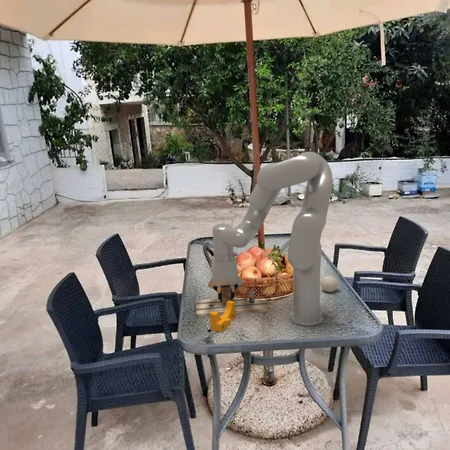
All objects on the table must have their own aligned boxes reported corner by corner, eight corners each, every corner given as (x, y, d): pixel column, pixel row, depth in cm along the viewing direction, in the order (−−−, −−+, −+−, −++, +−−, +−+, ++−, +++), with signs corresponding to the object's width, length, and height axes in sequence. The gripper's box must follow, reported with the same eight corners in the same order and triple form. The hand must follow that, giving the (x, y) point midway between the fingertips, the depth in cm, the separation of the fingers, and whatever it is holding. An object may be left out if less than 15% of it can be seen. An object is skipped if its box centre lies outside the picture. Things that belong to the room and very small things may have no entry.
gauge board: (264, 297, 169) (263, 293, 168) (269, 311, 157) (269, 306, 157) (195, 303, 167) (195, 299, 166) (196, 317, 155) (196, 313, 154)
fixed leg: (254, 300, 163) (253, 290, 162) (254, 303, 161) (254, 292, 160) (248, 301, 163) (248, 290, 162) (249, 303, 161) (249, 292, 160)
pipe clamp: (220, 333, 144) (219, 316, 142) (210, 329, 146) (209, 313, 144) (239, 318, 153) (238, 302, 151) (230, 316, 155) (229, 300, 154)
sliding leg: (230, 300, 163) (229, 283, 161) (231, 305, 159) (230, 287, 157) (221, 301, 163) (220, 283, 161) (222, 305, 159) (221, 287, 157)
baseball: (341, 292, 170) (341, 277, 168) (325, 295, 168) (325, 280, 166) (333, 286, 176) (333, 272, 174) (317, 289, 174) (317, 274, 173)
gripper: (244, 251, 160) (245, 294, 165) (201, 255, 159) (204, 298, 164) (246, 258, 153) (248, 303, 158) (202, 261, 152) (205, 306, 157)
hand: (226, 300), depth 161 cm, fingers closed on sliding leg, 3 cm apart
